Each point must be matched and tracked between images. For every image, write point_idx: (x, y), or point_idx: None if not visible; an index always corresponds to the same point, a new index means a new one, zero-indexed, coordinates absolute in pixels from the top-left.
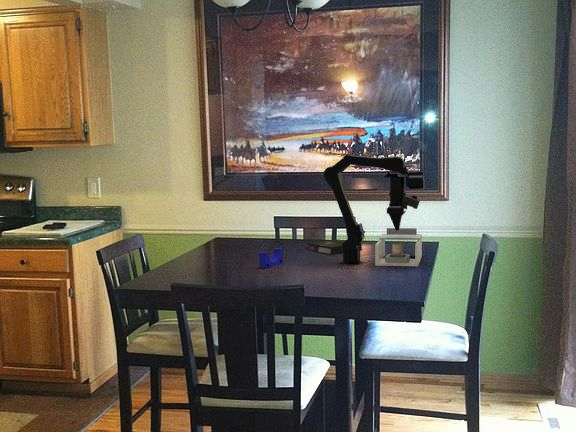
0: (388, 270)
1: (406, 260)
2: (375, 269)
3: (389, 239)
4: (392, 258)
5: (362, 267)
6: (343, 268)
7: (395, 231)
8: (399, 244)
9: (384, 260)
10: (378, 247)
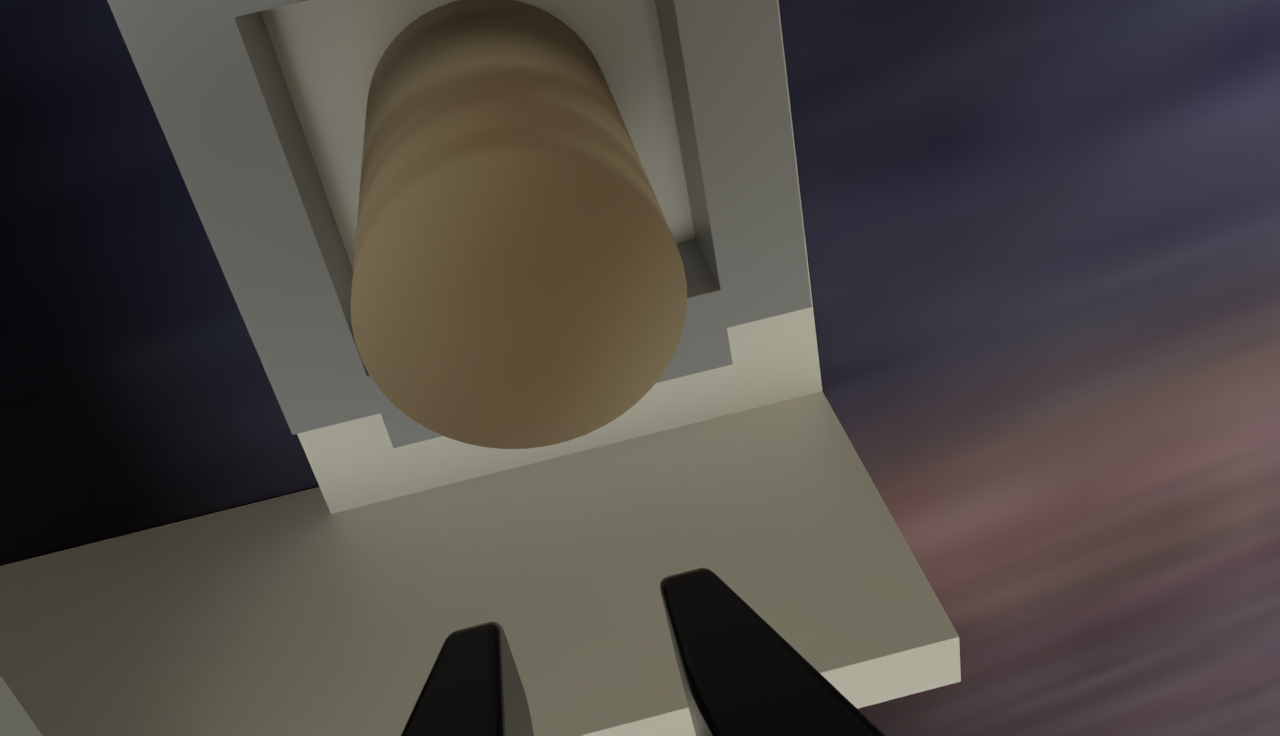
0: (1264, 27)
1: None
2: (1171, 273)
3: (36, 731)
4: (792, 184)
5: (1010, 506)
6: (1112, 673)
7: None
8: (559, 243)
9: None
10: (803, 612)
